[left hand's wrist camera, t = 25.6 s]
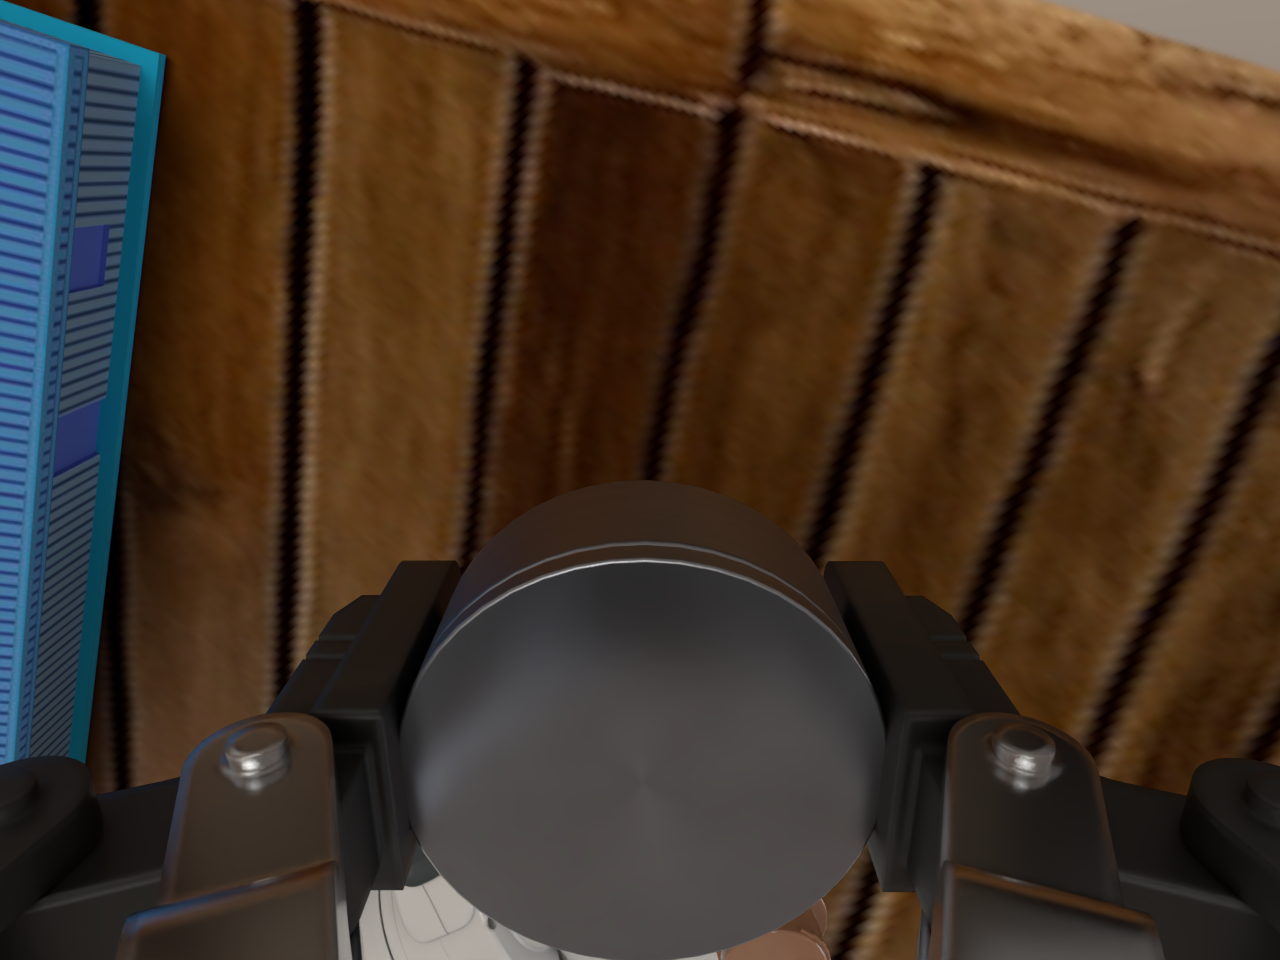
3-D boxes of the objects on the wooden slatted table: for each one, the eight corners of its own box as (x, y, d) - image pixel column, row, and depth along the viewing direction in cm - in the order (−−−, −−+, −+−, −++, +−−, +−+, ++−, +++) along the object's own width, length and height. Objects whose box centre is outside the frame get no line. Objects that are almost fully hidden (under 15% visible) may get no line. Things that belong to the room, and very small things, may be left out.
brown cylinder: (739, 738, 44) (789, 1034, 29) (670, 701, 43) (686, 986, 28) (787, 679, 43) (866, 957, 28) (717, 639, 42) (760, 903, 27)
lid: (454, 451, 10) (406, 526, 8) (885, 507, 10) (948, 594, 8) (431, 801, 12) (385, 938, 10) (797, 842, 12) (830, 984, 10)
